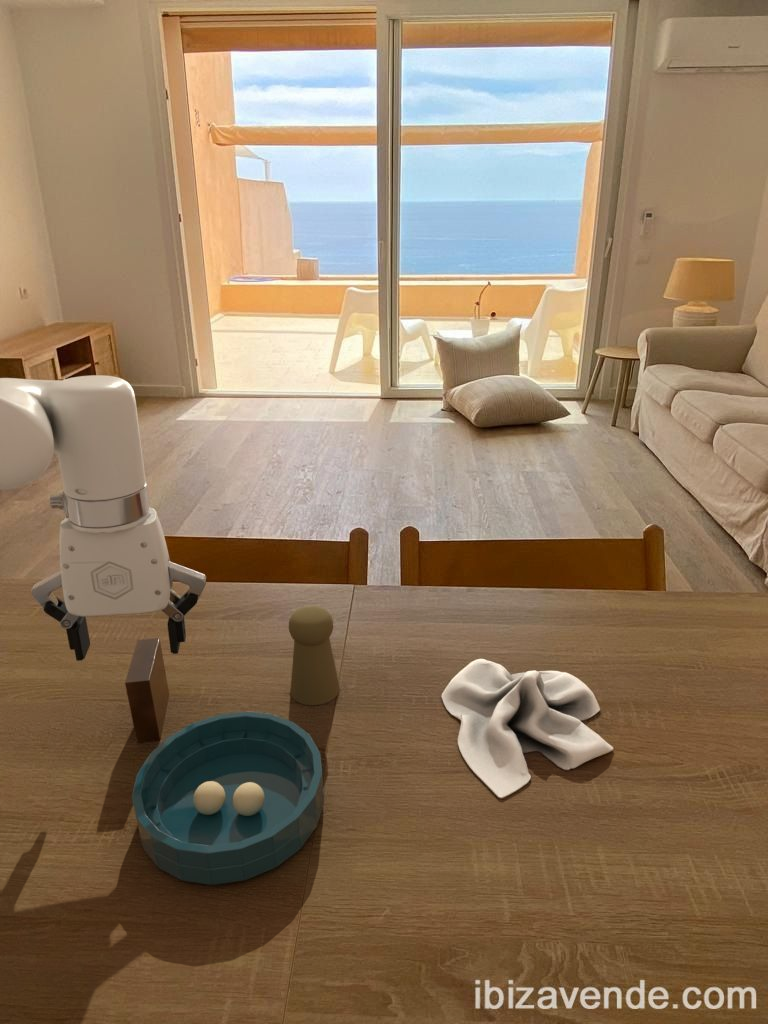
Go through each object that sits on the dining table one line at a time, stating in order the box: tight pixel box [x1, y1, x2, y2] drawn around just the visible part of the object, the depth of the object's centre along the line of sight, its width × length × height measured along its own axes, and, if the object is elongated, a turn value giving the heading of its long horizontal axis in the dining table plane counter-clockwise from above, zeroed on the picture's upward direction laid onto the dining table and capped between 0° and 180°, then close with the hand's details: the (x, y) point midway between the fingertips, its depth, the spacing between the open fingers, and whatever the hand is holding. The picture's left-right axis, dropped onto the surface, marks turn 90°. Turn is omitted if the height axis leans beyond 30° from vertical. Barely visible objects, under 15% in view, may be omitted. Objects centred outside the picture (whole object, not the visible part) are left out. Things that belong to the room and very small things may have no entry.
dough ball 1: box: [193, 781, 225, 815], centre depth 67 cm, size 3×3×3 cm
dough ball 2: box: [233, 782, 265, 816], centre depth 67 cm, size 3×3×3 cm
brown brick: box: [124, 637, 170, 744], centre depth 79 cm, size 2×8×8 cm, turn 9°
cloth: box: [441, 658, 614, 799], centre depth 78 cm, size 22×19×6 cm
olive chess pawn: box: [288, 605, 341, 706], centre depth 83 cm, size 6×6×11 cm
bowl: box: [131, 710, 325, 886], centre depth 67 cm, size 18×18×4 cm
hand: (130, 649), depth 75 cm, fingers open, 9 cm apart
